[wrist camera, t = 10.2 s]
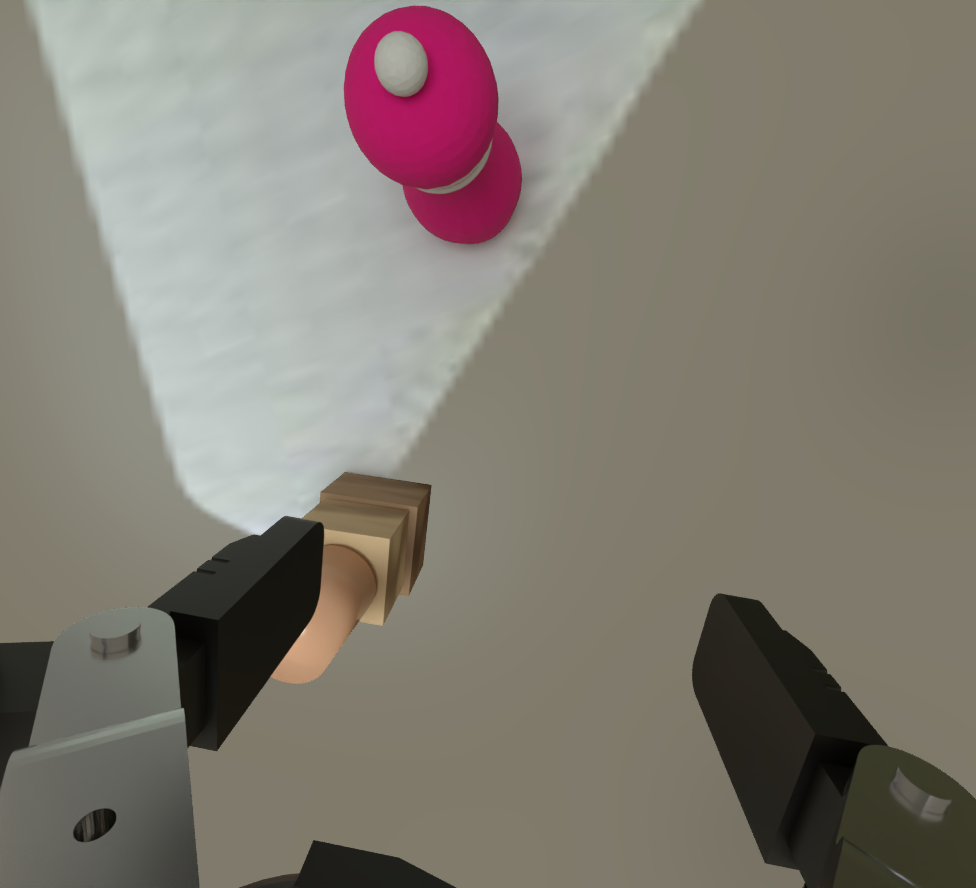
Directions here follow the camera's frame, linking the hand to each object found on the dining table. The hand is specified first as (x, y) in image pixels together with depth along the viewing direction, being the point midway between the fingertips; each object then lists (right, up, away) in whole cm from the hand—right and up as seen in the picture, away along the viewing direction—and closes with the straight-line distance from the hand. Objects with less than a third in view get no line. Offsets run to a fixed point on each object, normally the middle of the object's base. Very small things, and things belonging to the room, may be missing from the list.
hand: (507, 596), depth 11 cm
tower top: (-9, -4, +27) cm, 29 cm away
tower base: (-9, -3, +32) cm, 33 cm away
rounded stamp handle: (-10, -5, +22) cm, 24 cm away
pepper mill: (-2, +20, +25) cm, 32 cm away
